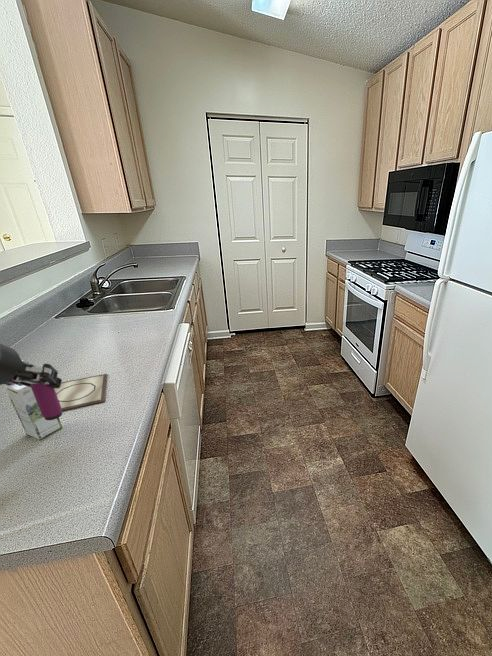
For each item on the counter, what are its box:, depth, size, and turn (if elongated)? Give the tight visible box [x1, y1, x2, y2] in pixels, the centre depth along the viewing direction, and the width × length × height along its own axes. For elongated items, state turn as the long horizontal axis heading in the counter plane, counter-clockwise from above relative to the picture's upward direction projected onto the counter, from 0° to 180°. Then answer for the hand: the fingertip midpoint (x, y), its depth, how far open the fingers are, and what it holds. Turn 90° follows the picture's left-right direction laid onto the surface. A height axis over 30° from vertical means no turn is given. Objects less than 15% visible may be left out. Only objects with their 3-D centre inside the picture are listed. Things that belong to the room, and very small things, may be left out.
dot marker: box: [30, 378, 63, 420], centre depth 71 cm, size 4×4×11 cm
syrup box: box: [3, 384, 63, 441], centre depth 80 cm, size 6×6×14 cm
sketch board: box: [54, 373, 108, 412], centre depth 99 cm, size 16×18×1 cm
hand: (48, 384), depth 72 cm, fingers closed on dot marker, 3 cm apart
